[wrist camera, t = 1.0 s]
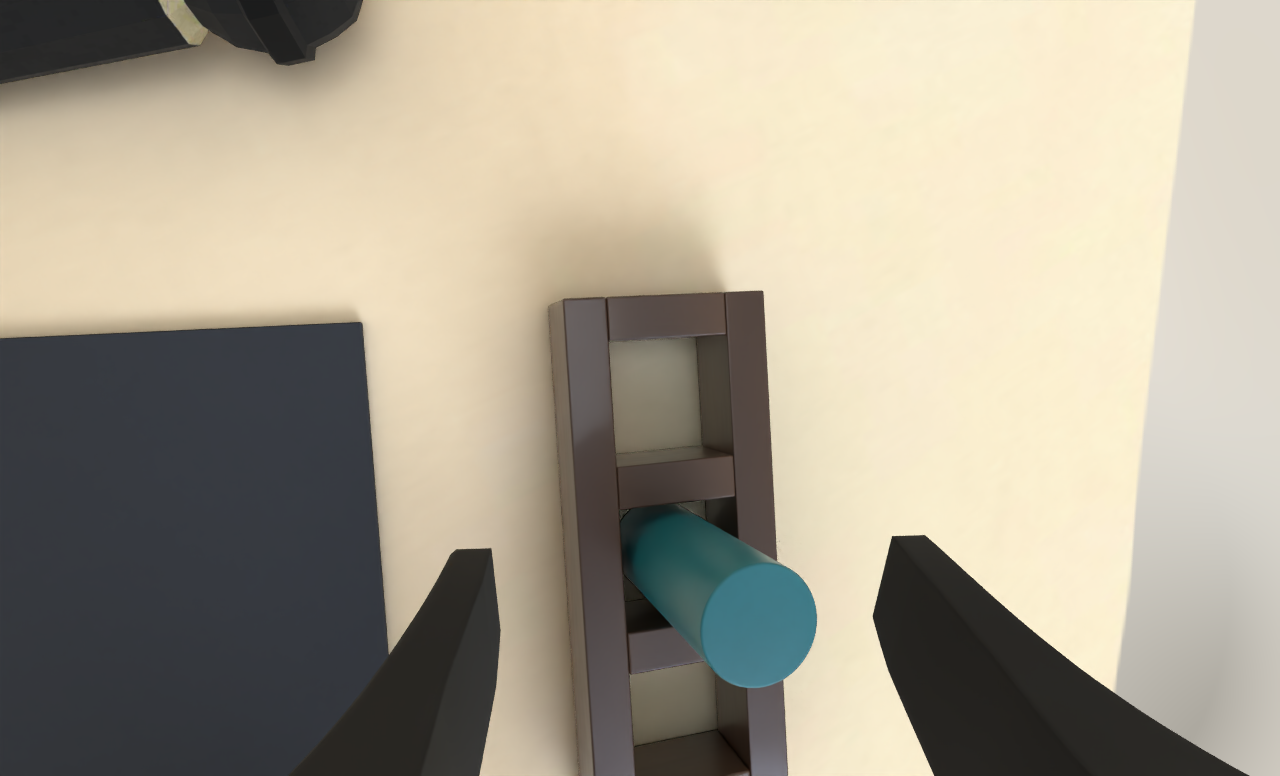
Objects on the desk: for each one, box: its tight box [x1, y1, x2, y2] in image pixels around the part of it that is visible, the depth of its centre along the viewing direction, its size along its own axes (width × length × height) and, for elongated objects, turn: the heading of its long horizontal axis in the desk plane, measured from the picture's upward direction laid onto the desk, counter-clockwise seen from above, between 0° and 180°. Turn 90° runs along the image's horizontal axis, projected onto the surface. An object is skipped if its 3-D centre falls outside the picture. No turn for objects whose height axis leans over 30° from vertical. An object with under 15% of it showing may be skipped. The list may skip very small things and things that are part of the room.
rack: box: [548, 291, 788, 776], centre depth 26 cm, size 7×18×3 cm, turn 3°
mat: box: [0, 322, 389, 776], centre depth 23 cm, size 18×12×1 cm, turn 3°
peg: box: [620, 503, 817, 688], centre depth 23 cm, size 3×3×9 cm
